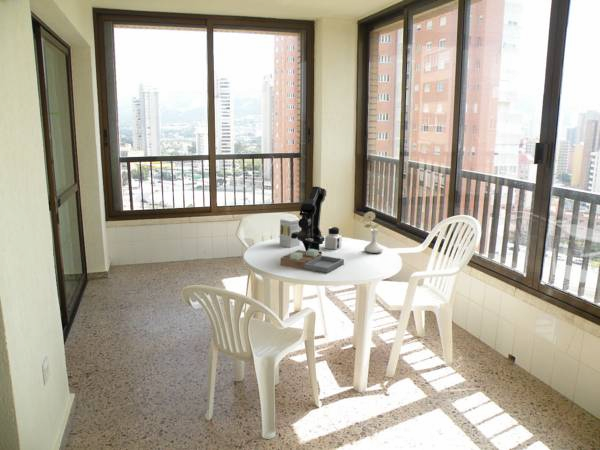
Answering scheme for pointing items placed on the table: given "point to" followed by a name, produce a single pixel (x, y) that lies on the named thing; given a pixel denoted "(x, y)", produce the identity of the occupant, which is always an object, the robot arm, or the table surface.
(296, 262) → the tan bevelled block
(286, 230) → the supplement box
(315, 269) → the box
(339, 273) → the table surface
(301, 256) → the tile
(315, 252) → the tile
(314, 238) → the robot arm
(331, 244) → the container
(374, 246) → the flower in vase
